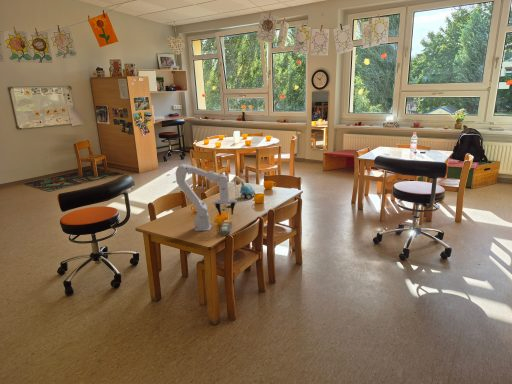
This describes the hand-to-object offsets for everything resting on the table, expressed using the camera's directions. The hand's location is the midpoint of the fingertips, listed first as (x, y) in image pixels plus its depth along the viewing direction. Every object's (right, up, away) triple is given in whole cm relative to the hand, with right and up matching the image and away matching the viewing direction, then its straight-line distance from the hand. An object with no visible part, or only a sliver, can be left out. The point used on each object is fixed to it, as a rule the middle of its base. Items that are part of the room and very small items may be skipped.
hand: (226, 214), depth 221 cm
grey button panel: (0, -10, -3) cm, 10 cm away
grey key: (0, -8, -3) cm, 9 cm away
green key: (0, -10, -8) cm, 13 cm away
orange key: (0, -7, +2) cm, 7 cm away
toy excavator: (+10, +10, +60) cm, 62 cm away
